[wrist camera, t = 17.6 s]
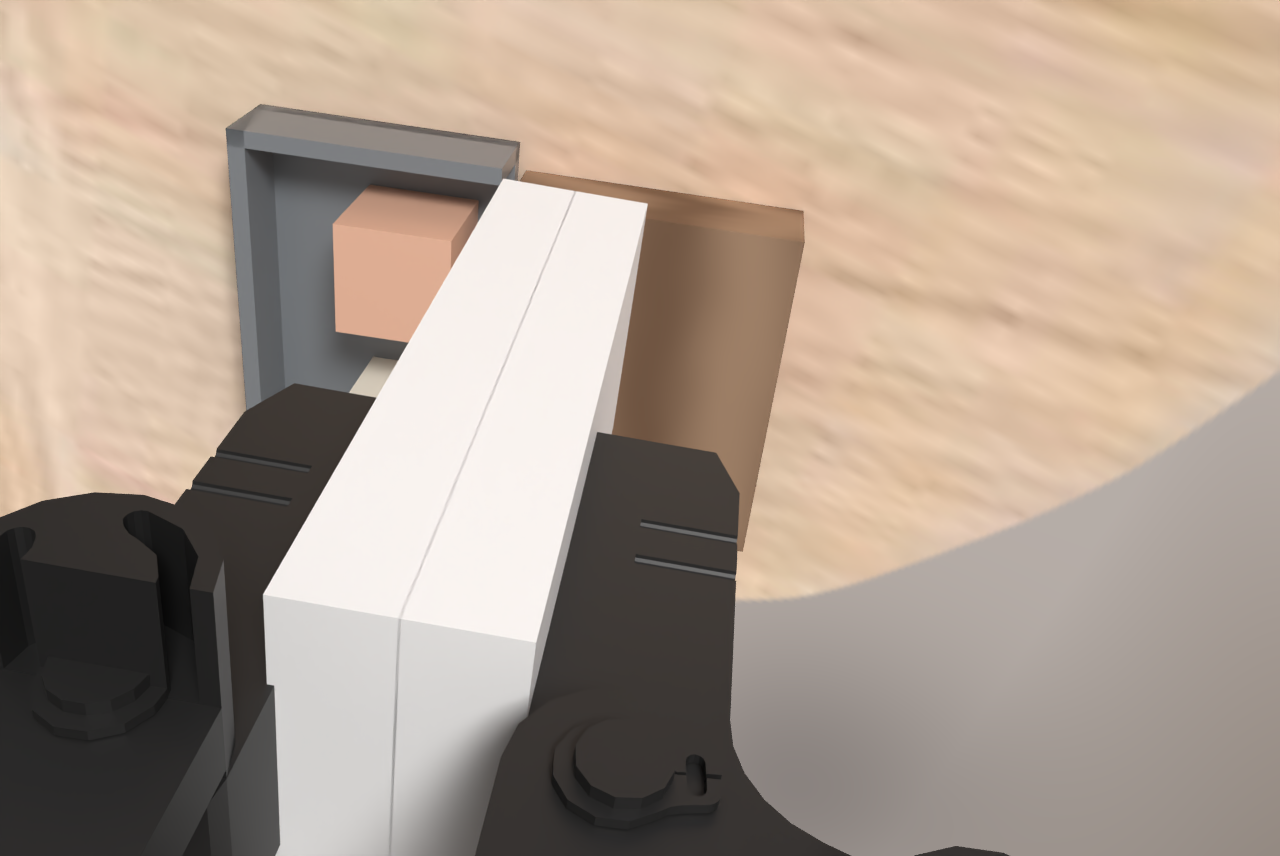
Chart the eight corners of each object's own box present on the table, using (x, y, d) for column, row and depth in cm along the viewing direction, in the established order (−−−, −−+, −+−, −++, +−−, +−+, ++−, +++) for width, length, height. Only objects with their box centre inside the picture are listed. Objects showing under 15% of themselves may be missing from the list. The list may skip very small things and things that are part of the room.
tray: (280, 455, 49) (252, 495, 46) (260, 104, 41) (225, 128, 39) (498, 489, 49) (483, 531, 46) (519, 142, 41) (502, 168, 38)
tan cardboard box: (506, 471, 48) (491, 512, 46) (526, 170, 41) (509, 198, 39) (744, 507, 48) (742, 551, 45) (803, 210, 41) (804, 242, 39)
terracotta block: (474, 301, 44) (370, 285, 44) (478, 200, 42) (369, 184, 42) (448, 348, 40) (335, 331, 40) (451, 241, 38) (332, 223, 38)
